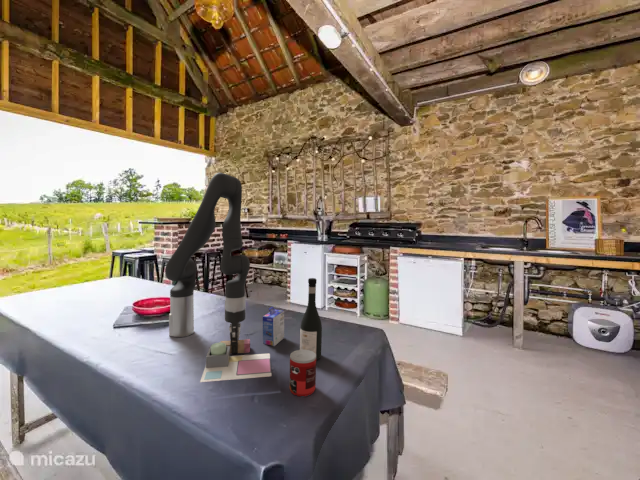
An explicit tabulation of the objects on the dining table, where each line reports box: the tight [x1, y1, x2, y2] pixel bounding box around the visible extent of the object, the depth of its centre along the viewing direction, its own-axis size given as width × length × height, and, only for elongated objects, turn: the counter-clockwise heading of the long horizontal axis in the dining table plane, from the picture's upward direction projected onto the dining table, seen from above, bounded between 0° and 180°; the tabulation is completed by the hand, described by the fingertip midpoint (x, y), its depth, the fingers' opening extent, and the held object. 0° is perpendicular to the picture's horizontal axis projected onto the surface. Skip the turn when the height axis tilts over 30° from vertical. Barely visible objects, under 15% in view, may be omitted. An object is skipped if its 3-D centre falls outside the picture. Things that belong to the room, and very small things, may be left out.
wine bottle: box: [299, 277, 323, 361], centre depth 109 cm, size 8×8×30 cm
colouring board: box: [199, 353, 272, 383], centre depth 101 cm, size 22×16×1 cm
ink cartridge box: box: [262, 306, 285, 347], centre depth 123 cm, size 10×6×14 cm, turn 161°
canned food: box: [289, 349, 317, 397], centre depth 89 cm, size 8×8×11 cm
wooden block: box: [220, 338, 251, 355], centre depth 112 cm, size 11×4×4 cm, turn 102°
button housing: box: [205, 346, 231, 368], centre depth 103 cm, size 7×7×4 cm
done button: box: [210, 341, 226, 355], centre depth 103 cm, size 5×5×4 cm
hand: (235, 351), depth 112 cm, fingers closed on wooden block, 4 cm apart
